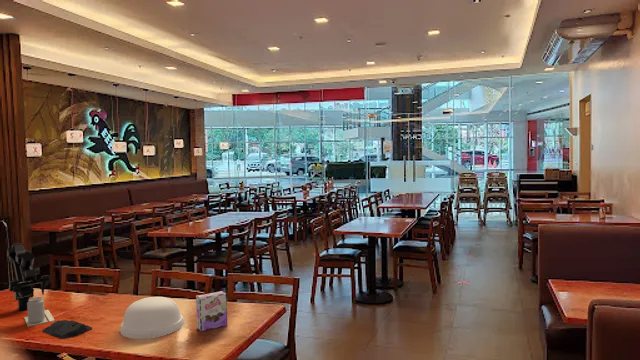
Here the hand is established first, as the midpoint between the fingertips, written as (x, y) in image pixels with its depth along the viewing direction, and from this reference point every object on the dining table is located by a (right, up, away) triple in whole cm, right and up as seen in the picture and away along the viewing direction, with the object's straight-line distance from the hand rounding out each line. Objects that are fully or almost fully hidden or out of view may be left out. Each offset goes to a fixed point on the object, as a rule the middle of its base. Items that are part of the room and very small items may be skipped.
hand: (33, 296), depth 254 cm
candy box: (+98, -12, -16) cm, 100 cm away
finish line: (+4, -12, +7) cm, 15 cm away
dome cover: (+68, -12, -14) cm, 70 cm away
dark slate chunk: (+26, -14, -15) cm, 33 cm away
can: (+3, -13, -3) cm, 13 cm away
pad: (+1, -13, +1) cm, 13 cm away
